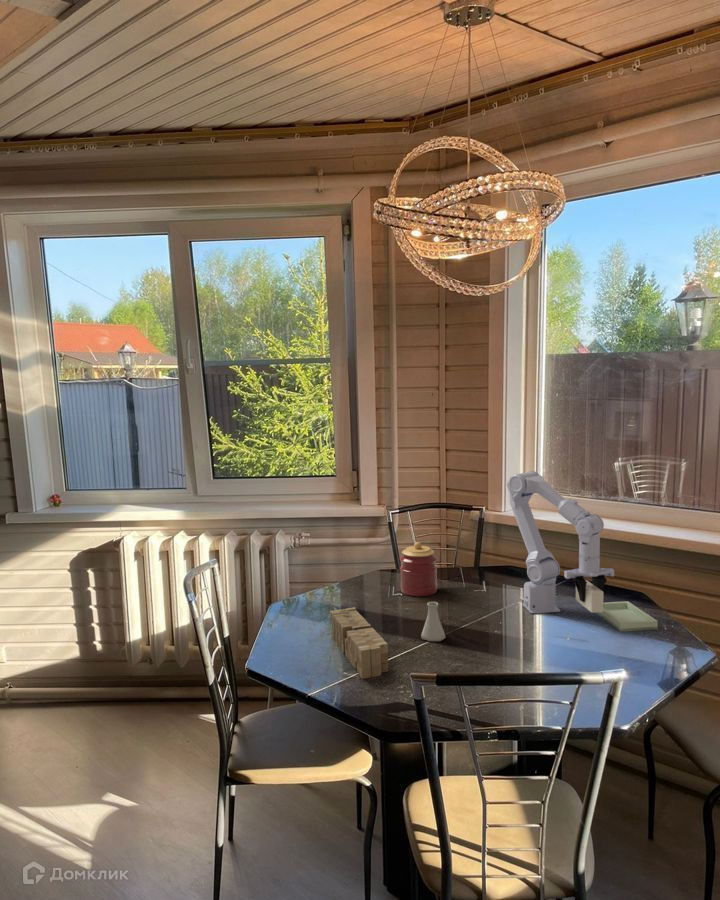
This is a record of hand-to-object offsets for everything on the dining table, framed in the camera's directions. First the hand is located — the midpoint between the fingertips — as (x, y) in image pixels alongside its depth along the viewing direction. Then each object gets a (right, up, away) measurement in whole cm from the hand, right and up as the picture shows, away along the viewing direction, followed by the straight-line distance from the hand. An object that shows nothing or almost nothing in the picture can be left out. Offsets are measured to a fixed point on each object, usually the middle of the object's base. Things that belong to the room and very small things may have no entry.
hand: (588, 600), depth 188 cm
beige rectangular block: (0, -2, 0) cm, 2 cm away
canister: (-48, -5, +34) cm, 59 cm away
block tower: (-69, -11, -17) cm, 72 cm away
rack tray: (+11, -6, +1) cm, 13 cm away
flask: (-47, -9, -7) cm, 49 cm away
